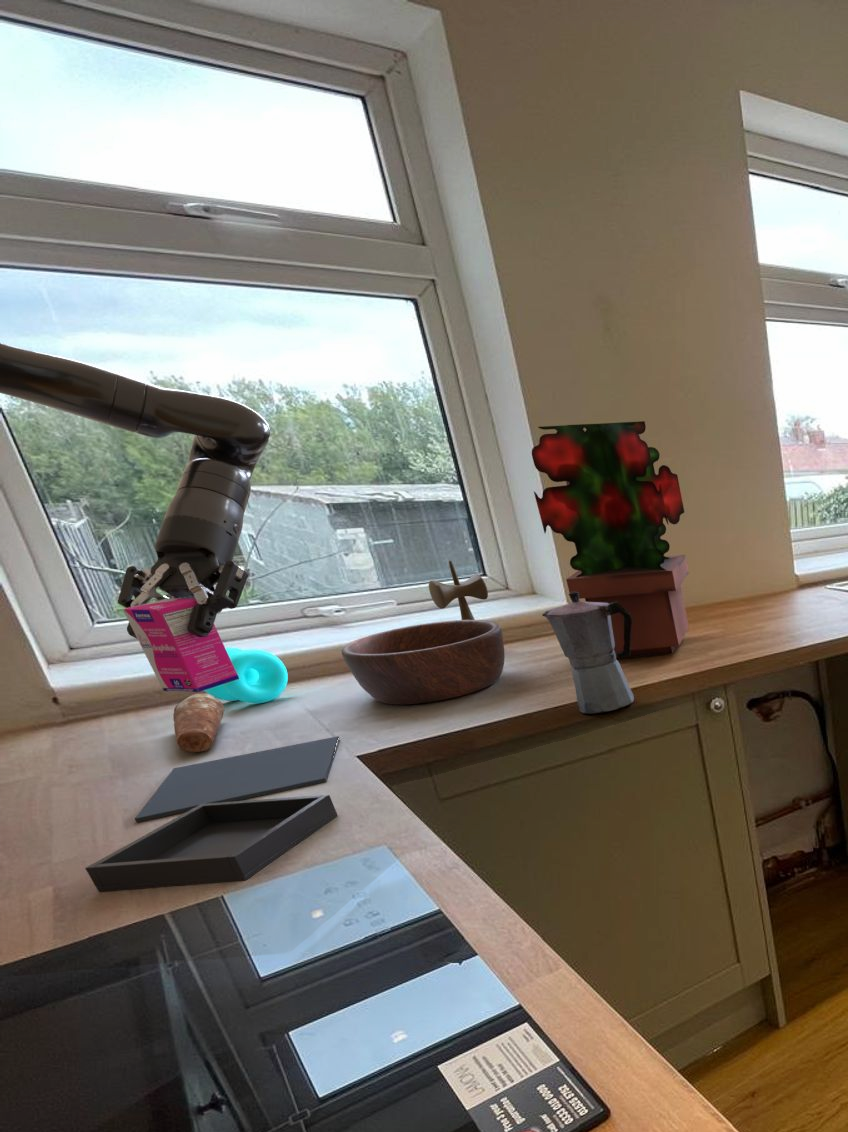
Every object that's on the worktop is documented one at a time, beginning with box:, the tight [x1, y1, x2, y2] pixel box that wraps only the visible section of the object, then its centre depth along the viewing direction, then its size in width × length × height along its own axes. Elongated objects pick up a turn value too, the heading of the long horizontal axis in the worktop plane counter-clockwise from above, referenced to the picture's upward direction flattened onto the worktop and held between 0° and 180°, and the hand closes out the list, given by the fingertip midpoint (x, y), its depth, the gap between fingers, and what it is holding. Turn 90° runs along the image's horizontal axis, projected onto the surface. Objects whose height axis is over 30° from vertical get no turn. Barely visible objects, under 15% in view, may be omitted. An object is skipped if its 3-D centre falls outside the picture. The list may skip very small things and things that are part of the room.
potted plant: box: [531, 420, 690, 660], centre depth 165 cm, size 22×22×45 cm
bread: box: [172, 693, 225, 753], centre depth 133 cm, size 6×19×6 cm, turn 38°
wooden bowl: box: [341, 619, 506, 706], centre depth 152 cm, size 25×25×10 cm
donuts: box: [203, 646, 289, 704], centre depth 150 cm, size 10×10×10 cm
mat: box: [134, 736, 340, 823], centre depth 118 cm, size 20×20×1 cm
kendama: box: [428, 560, 489, 620], centre depth 173 cm, size 6×10×20 cm, turn 142°
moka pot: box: [541, 592, 635, 715], centre depth 137 cm, size 10×15×20 cm, turn 88°
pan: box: [84, 794, 339, 893], centre depth 97 cm, size 16×16×3 cm
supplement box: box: [122, 597, 239, 693], centre depth 108 cm, size 6×6×12 cm
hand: (167, 635), depth 106 cm, fingers closed on supplement box, 6 cm apart
